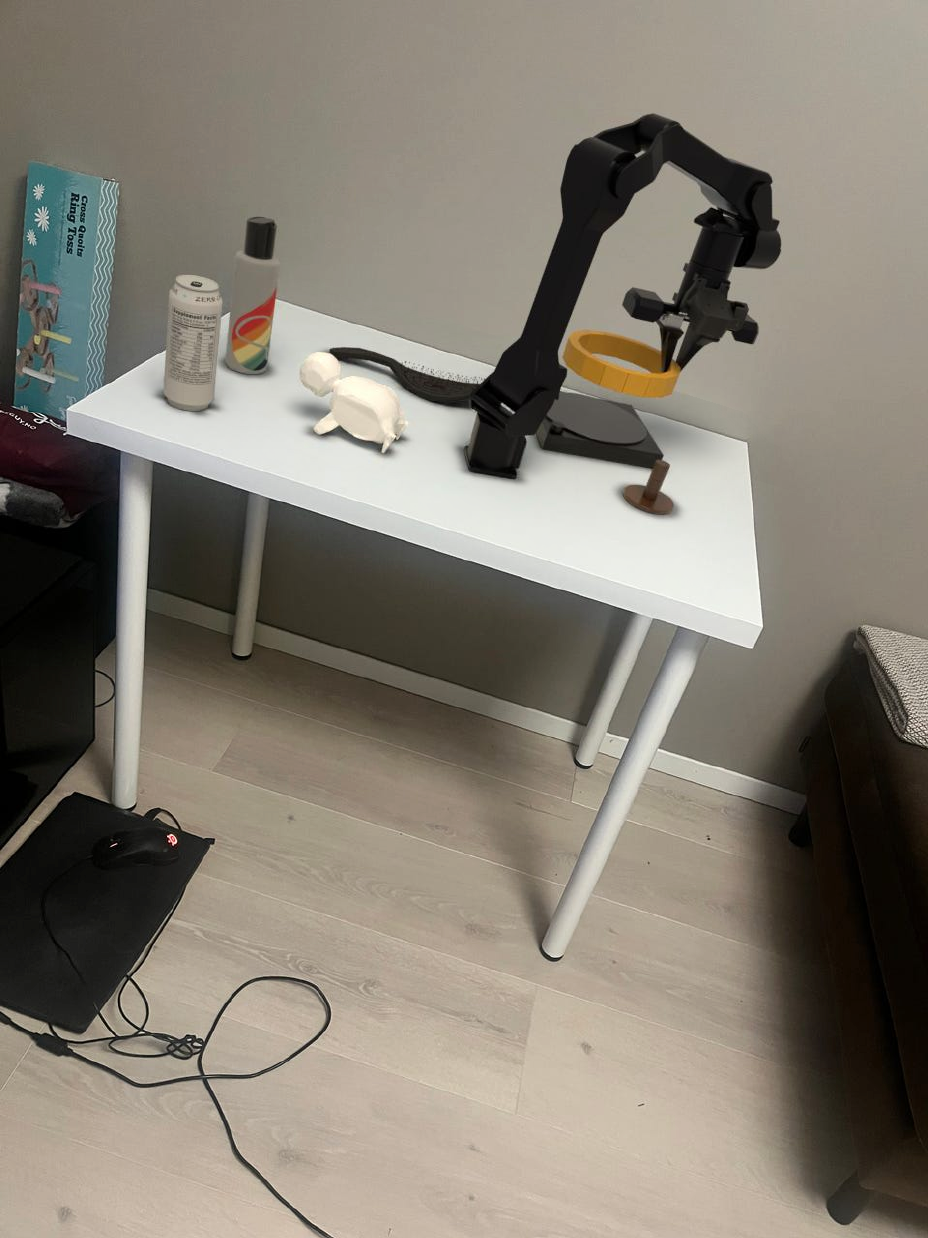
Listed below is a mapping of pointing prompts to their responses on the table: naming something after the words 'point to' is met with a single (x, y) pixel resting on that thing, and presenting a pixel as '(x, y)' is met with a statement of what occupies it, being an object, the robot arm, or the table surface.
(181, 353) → the energy drink can
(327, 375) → the white turtle figurine
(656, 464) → the peg
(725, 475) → the table surface
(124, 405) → the table surface
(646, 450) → the hot plate
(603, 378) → the ring
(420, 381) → the hairbrush
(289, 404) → the table surface
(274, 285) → the lotion bottle
